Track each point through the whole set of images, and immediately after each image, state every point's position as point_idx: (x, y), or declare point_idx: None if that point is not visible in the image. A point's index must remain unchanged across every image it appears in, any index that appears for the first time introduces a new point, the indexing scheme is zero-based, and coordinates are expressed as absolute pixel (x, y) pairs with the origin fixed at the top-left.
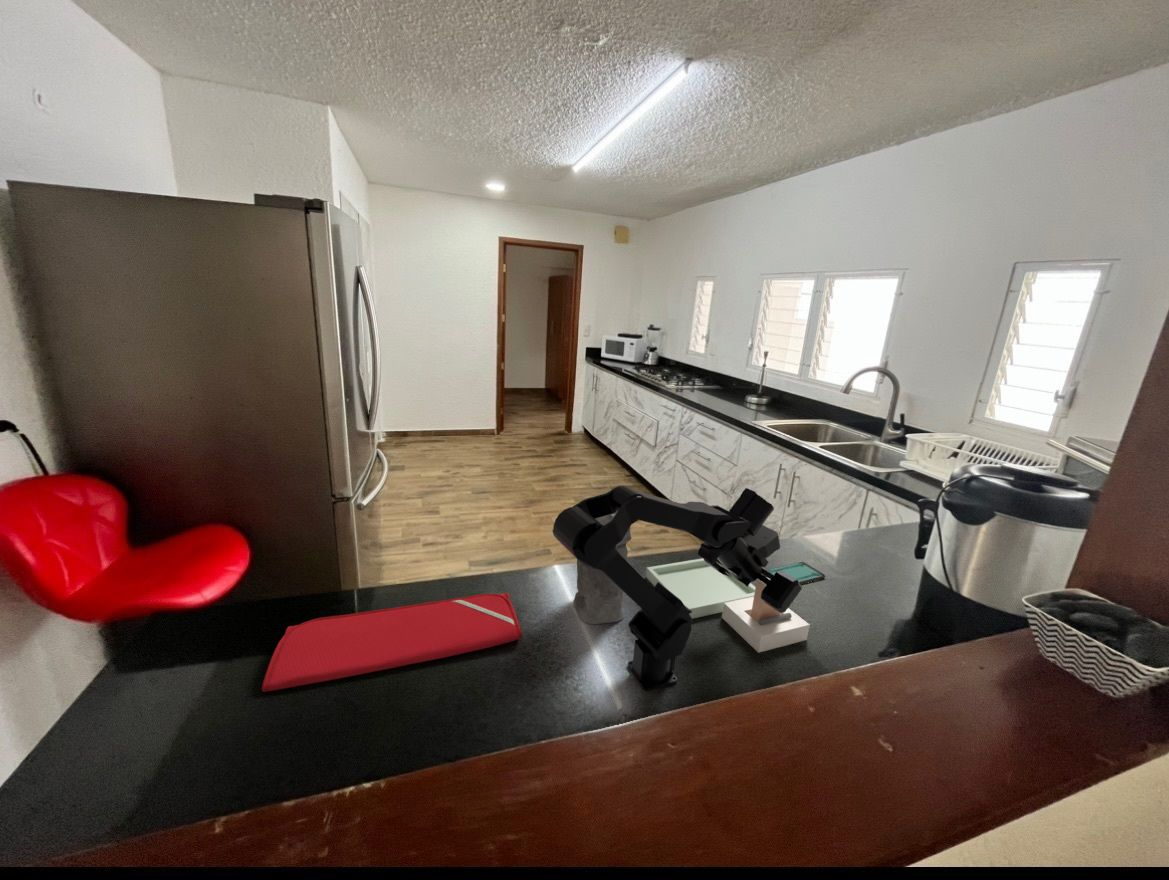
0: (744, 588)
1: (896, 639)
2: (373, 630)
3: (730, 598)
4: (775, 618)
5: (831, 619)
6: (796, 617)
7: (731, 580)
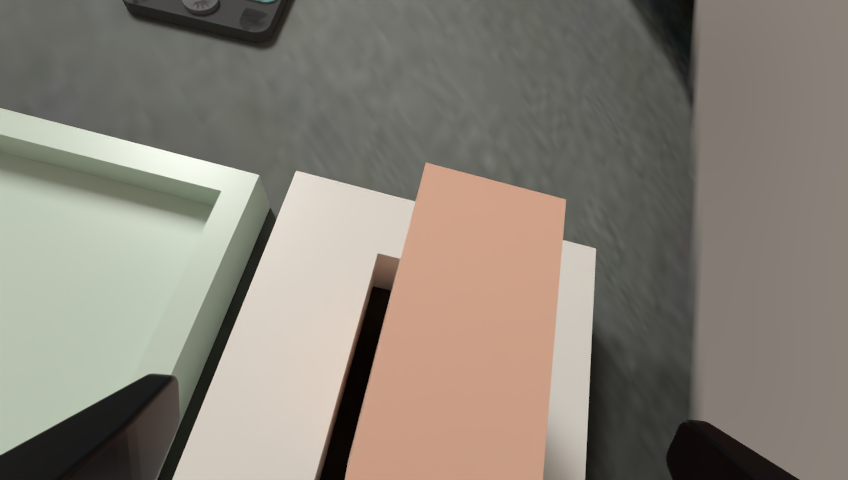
0: (134, 186)
1: (664, 28)
2: None
3: None
4: None
5: (509, 79)
6: None
7: (26, 178)
